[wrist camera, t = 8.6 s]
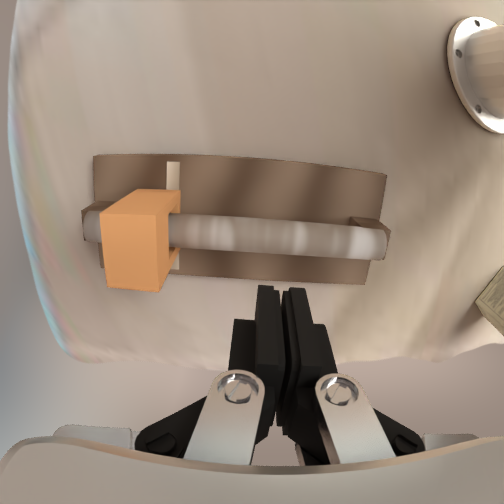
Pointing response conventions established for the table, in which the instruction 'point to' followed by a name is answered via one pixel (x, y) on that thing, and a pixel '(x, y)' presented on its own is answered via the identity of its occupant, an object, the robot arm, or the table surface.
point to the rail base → (254, 215)
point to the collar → (139, 239)
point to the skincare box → (493, 302)
